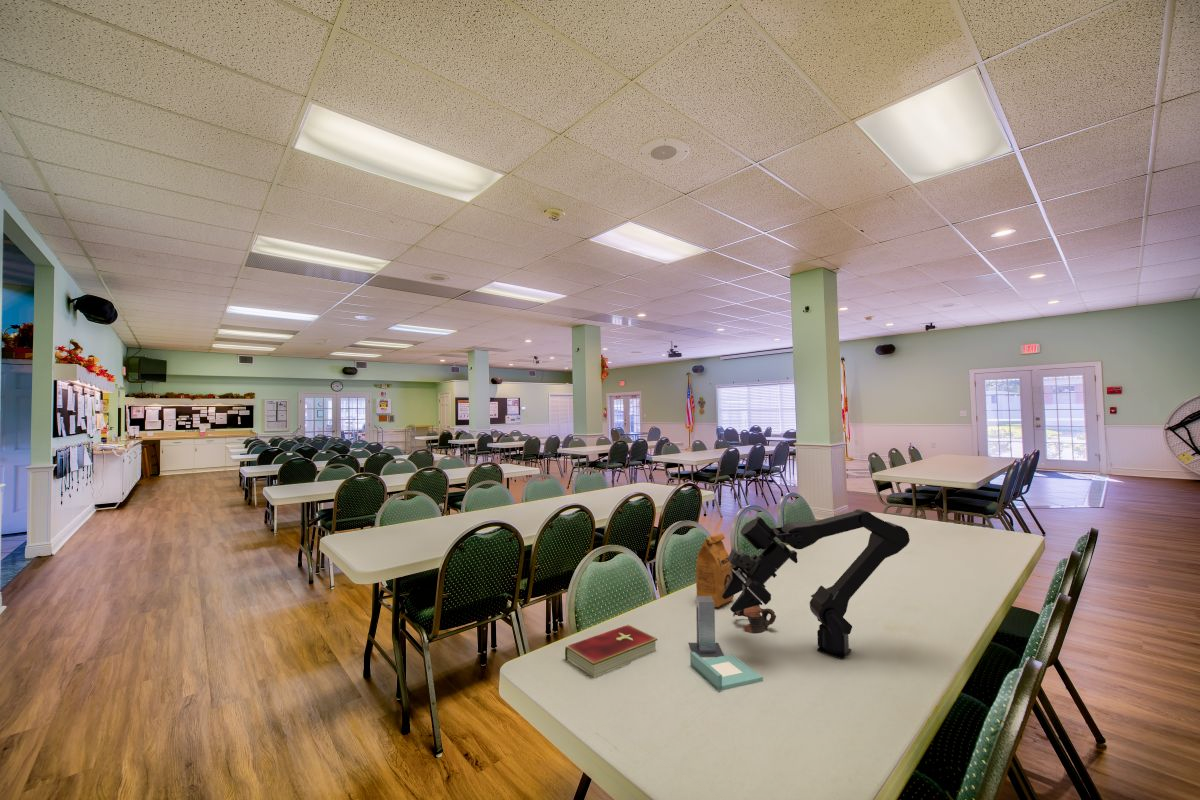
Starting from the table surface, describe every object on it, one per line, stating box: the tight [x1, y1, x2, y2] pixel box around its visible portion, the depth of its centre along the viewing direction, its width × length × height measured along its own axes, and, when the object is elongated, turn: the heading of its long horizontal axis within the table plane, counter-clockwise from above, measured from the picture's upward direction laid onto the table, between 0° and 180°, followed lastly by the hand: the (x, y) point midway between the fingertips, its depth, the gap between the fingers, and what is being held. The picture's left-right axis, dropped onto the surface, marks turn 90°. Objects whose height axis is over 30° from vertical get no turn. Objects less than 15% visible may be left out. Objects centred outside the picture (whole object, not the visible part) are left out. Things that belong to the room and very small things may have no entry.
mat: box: [687, 642, 725, 658], centre depth 128 cm, size 8×8×1 cm
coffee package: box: [695, 533, 735, 608], centre depth 163 cm, size 10×12×22 cm
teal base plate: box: [689, 652, 764, 693], centre depth 116 cm, size 12×12×4 cm
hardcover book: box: [564, 624, 658, 678], centre depth 126 cm, size 12×21×4 cm, turn 128°
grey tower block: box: [695, 595, 716, 654], centre depth 128 cm, size 4×4×13 cm
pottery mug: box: [732, 605, 777, 634], centre depth 143 cm, size 12×10×8 cm
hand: (727, 604), depth 129 cm, fingers open, 9 cm apart
